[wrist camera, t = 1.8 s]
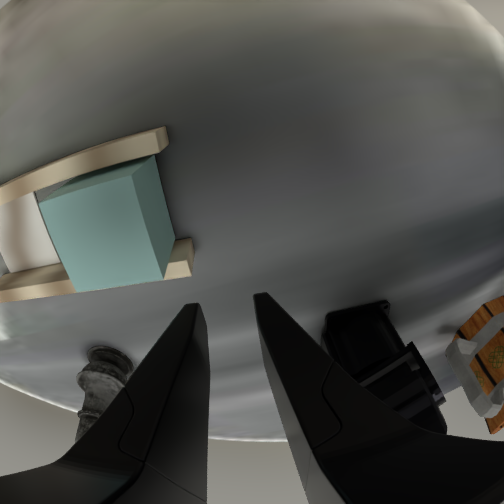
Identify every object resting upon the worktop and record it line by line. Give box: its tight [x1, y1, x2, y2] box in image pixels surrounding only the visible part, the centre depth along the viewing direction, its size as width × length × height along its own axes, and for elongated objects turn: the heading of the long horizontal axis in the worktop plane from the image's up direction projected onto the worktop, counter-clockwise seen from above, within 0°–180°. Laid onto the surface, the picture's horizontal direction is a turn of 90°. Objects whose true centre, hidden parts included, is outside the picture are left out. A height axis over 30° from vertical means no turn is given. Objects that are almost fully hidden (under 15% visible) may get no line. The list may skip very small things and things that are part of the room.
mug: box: [446, 296, 504, 434], centre depth 25 cm, size 20×14×15 cm
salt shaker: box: [75, 346, 133, 443], centre depth 21 cm, size 6×6×12 cm
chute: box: [0, 126, 195, 303], centre depth 17 cm, size 20×9×3 cm, turn 97°
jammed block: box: [38, 155, 175, 292], centre depth 16 cm, size 6×6×5 cm
